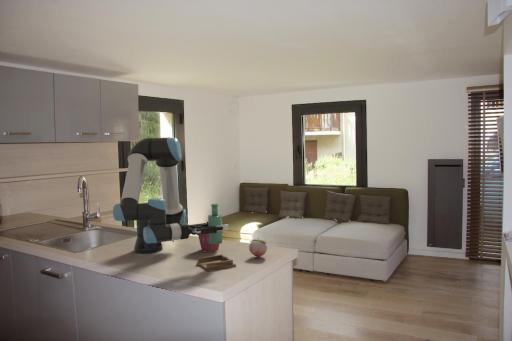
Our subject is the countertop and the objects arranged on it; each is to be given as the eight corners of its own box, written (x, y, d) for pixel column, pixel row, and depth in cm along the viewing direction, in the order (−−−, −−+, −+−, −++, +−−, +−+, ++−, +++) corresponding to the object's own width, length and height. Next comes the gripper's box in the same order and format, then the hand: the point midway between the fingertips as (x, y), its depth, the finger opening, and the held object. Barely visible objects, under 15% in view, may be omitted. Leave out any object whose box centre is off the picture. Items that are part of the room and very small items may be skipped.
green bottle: (206, 242, 193) (205, 204, 192) (218, 240, 196) (217, 202, 195) (212, 244, 187) (211, 205, 186) (224, 243, 191) (223, 204, 190)
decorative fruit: (269, 255, 208) (269, 236, 208) (265, 260, 200) (265, 240, 200) (251, 254, 211) (251, 235, 210) (247, 258, 203) (247, 239, 202)
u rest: (196, 263, 195) (196, 257, 195) (223, 259, 202) (223, 253, 202) (208, 271, 183) (208, 265, 183) (235, 266, 190) (235, 260, 190)
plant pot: (210, 254, 212) (209, 230, 211) (191, 250, 220) (191, 227, 219) (228, 249, 223) (227, 226, 222) (209, 245, 231) (209, 223, 231)
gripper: (172, 235, 191) (216, 230, 203) (186, 243, 174) (234, 237, 186) (171, 220, 191) (216, 215, 202) (186, 226, 174) (233, 221, 185)
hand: (224, 225), depth 194 cm, fingers closed on green bottle, 6 cm apart
